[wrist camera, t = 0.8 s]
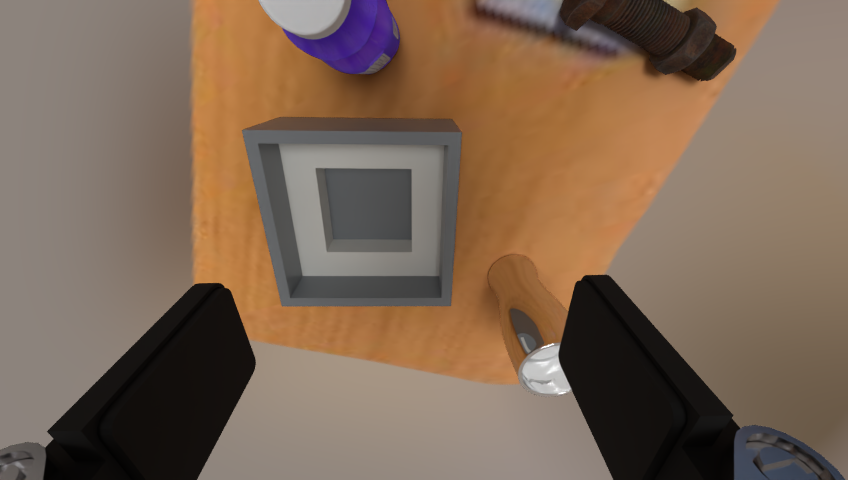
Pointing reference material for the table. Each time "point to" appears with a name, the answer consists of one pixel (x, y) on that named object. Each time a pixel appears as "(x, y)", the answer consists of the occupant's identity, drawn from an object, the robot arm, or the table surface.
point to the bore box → (358, 208)
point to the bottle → (339, 31)
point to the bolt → (659, 33)
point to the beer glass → (530, 325)
